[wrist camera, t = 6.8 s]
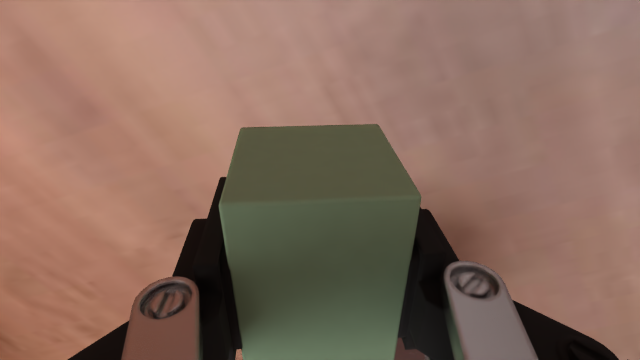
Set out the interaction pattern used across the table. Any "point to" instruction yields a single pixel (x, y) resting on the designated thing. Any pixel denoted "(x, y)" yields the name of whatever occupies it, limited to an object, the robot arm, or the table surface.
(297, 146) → the green rectangular block
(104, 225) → the table surface
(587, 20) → the table surface
